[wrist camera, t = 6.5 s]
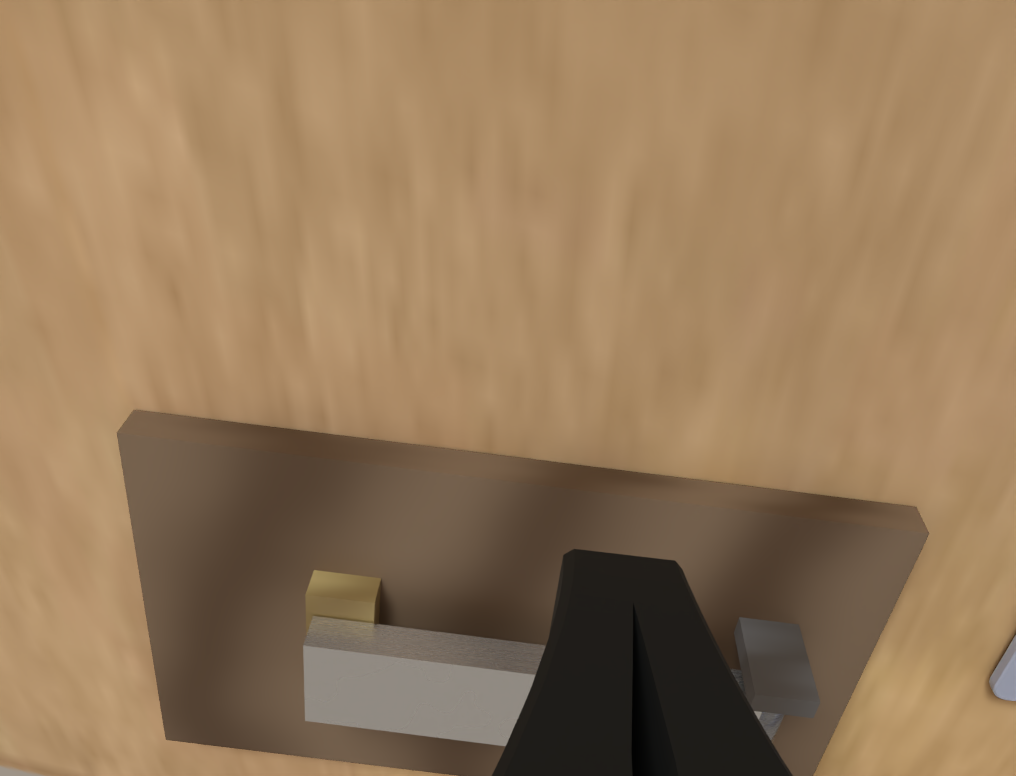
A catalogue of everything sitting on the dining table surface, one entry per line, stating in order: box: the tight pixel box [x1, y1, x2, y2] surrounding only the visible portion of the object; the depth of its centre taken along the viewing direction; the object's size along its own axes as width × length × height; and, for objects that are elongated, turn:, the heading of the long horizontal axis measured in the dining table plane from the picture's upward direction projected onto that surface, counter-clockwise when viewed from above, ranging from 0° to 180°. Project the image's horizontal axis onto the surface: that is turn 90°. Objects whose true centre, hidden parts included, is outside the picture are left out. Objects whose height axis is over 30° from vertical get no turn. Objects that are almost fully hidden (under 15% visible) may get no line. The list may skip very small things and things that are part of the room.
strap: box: [303, 616, 784, 746], centre depth 24 cm, size 12×3×1 cm, turn 84°
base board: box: [117, 410, 929, 776], centre depth 25 cm, size 20×12×4 cm, turn 84°
